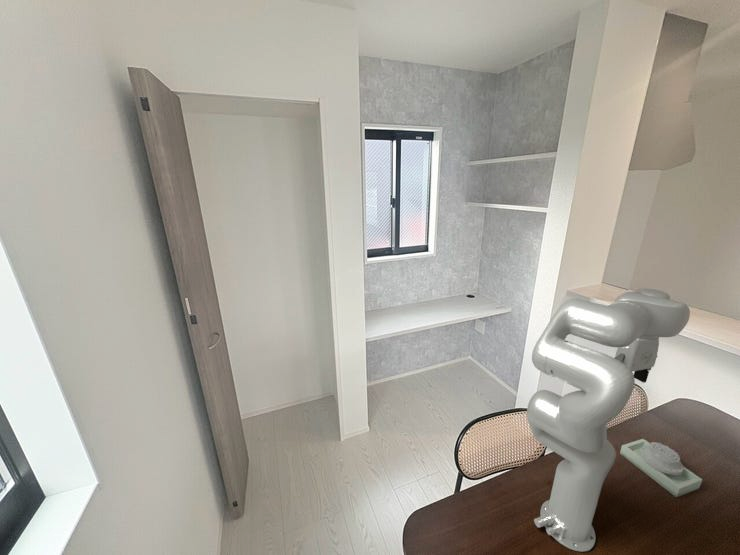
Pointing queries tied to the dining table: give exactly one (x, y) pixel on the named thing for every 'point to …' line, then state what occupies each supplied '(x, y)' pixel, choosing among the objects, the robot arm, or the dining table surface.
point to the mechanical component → (662, 458)
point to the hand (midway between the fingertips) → (627, 382)
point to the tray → (670, 482)
